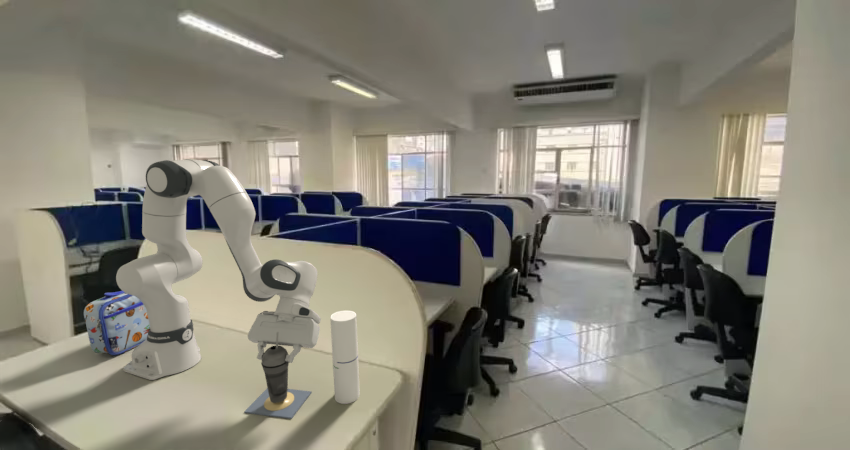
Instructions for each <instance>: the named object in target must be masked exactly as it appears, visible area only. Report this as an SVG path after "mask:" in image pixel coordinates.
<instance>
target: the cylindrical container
mask: <svg viewBox="0 0 850 450" xmlns="http://www.w3.org/2000/svg"><path fill="white" fill-rule="evenodd" d="M357 320H358V319H357V313H356V312H355V311H353V310H350V309H349V310H345V309H344V310H338V311H335V312H333V313H332V314H331V315H330V333H331V334H330V337H331V351H332V352H331V354H332V371H333V388H334V390H333V391H334V392H333V393H334V400H335V402H337V403H338V404H342V405H346V404H348V405H349V404H352V403H354V402H355V401H357V400H358V399H359V397H360V396H361V393H360V392H361V391H360V377H359V376H360V373H359V372H360V371H359V370H360V368H359V348H358V347H359V343H358V325H357V324H358V322H357Z"/></svg>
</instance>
